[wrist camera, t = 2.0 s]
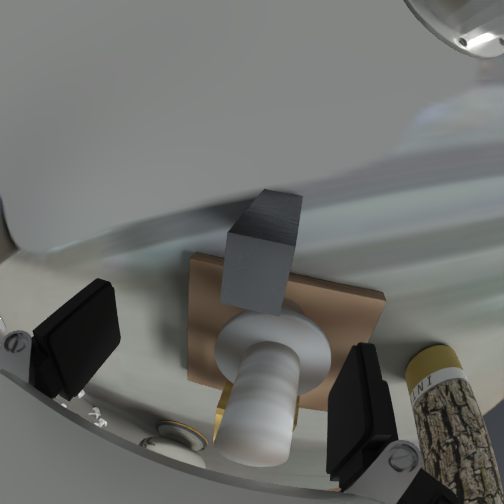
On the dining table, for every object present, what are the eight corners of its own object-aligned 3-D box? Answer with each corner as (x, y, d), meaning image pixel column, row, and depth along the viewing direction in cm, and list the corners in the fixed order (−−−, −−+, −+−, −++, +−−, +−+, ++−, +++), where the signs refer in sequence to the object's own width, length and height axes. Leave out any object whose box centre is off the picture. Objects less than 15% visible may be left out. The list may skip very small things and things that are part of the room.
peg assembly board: (196, 247, 27) (96, 357, 13) (384, 288, 25) (429, 429, 11) (191, 372, 34) (142, 471, 20) (329, 403, 32) (322, 513, 18)
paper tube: (459, 336, 25) (524, 534, 2) (448, 376, 27) (487, 551, 5) (407, 348, 27) (443, 573, 4) (400, 387, 29) (417, 576, 6)
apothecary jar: (207, 457, 45) (179, 531, 29) (150, 434, 45) (114, 503, 29) (221, 435, 40) (188, 527, 23) (152, 407, 40) (106, 491, 24)
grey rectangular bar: (264, 189, 23) (227, 232, 13) (302, 196, 23) (295, 246, 13) (256, 233, 25) (219, 302, 15) (293, 241, 25) (279, 316, 15)
